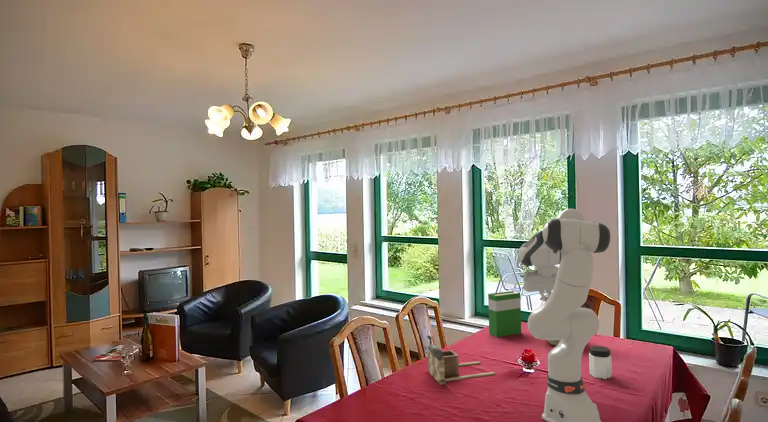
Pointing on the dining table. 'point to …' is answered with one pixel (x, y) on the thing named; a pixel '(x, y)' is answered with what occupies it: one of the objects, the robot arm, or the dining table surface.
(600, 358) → the jar
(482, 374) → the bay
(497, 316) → the green cereal box
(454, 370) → the crate
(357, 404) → the dining table surface
